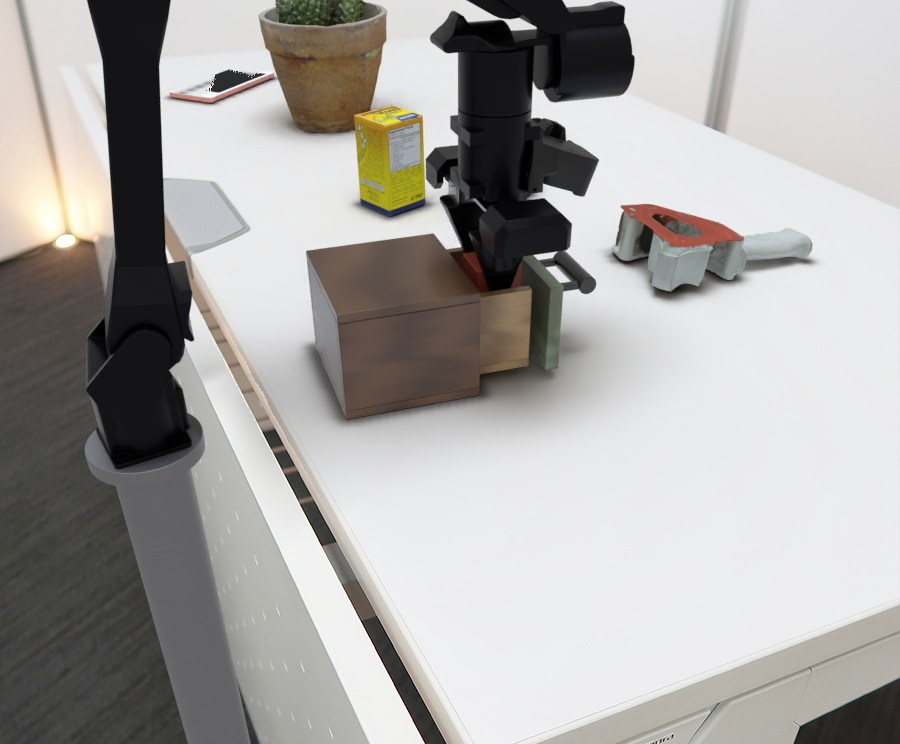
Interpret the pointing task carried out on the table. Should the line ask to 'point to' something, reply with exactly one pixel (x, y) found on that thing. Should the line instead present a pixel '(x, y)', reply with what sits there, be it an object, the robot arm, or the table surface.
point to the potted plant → (325, 58)
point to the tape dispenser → (696, 245)
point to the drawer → (527, 313)
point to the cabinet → (395, 324)
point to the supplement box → (390, 159)
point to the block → (476, 275)
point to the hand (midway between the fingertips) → (490, 291)
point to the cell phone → (228, 85)
